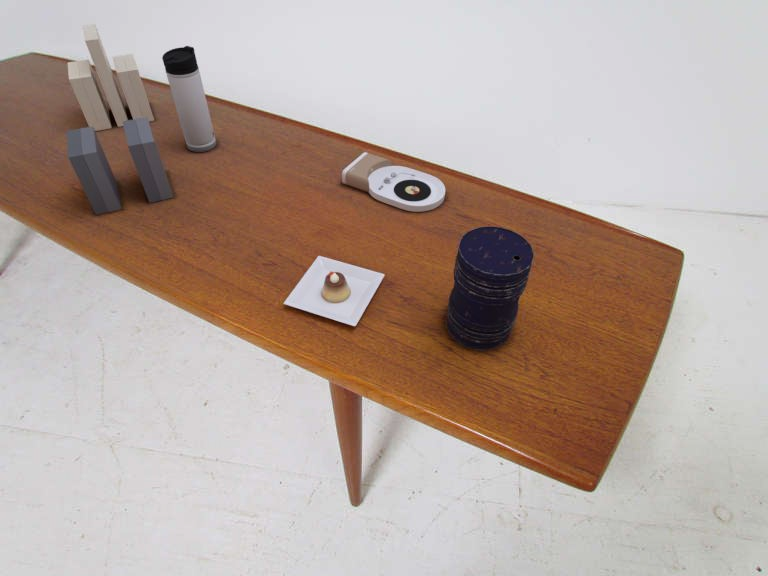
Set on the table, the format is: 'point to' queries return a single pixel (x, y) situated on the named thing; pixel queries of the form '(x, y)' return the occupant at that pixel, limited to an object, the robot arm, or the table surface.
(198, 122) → the travel mug
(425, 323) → the table surface
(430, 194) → the record player
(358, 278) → the dessert
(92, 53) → the cream book
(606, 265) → the table surface
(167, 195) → the grey books
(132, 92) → the white books
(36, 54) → the table surface
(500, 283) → the dark blue barrel
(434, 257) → the table surface
